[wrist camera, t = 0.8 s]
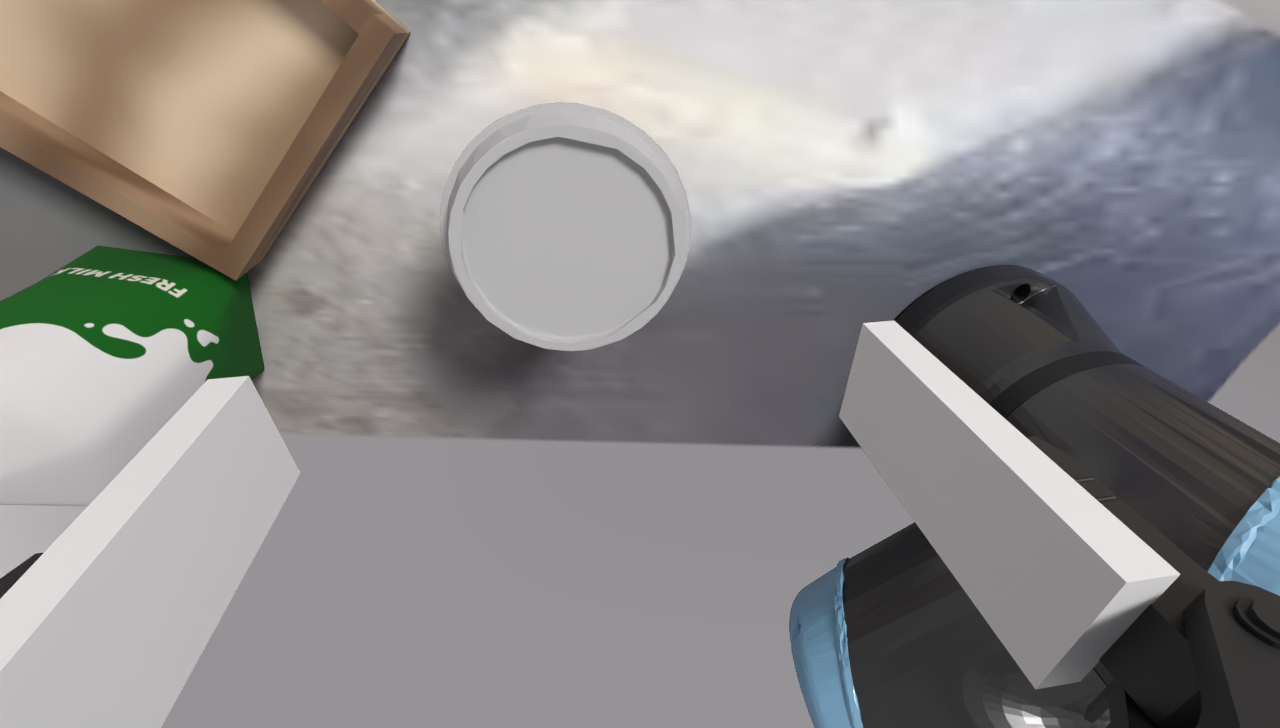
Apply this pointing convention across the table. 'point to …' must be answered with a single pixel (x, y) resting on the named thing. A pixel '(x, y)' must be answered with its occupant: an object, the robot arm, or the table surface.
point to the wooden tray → (190, 107)
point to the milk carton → (104, 377)
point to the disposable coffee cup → (565, 226)
